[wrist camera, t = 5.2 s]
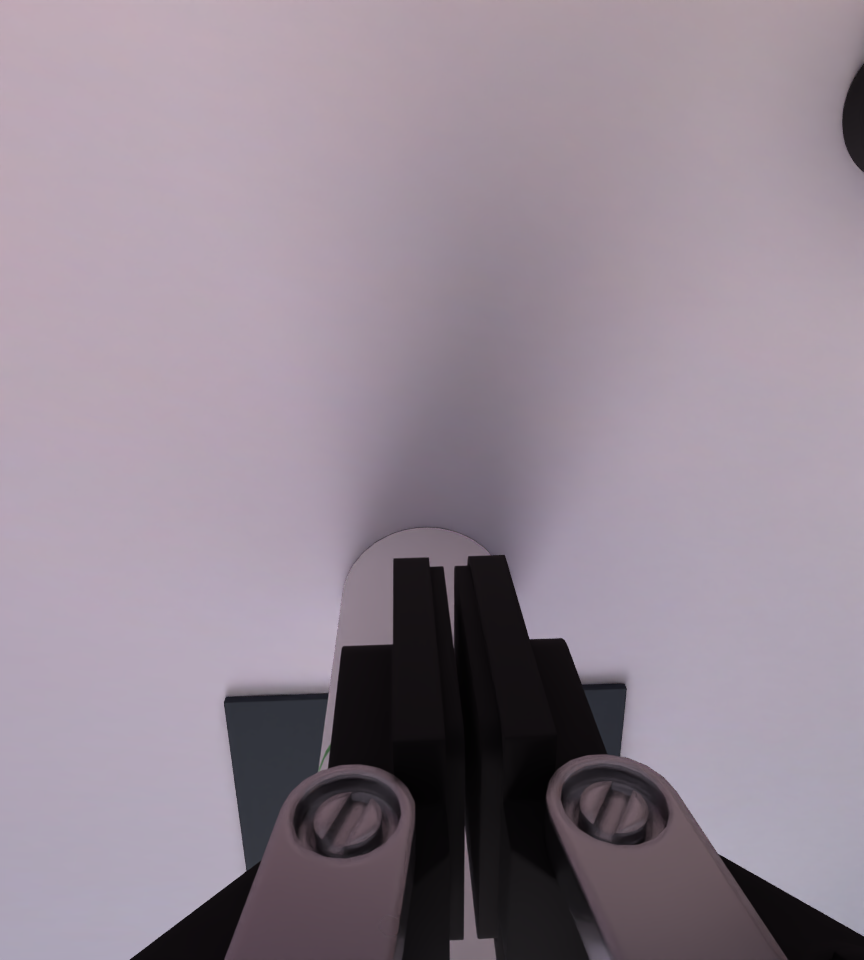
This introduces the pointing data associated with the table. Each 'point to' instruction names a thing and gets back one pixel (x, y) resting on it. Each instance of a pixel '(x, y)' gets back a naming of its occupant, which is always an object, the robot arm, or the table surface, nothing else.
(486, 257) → the table surface
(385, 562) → the cylindrical container
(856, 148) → the drinking cup
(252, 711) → the desk mat
